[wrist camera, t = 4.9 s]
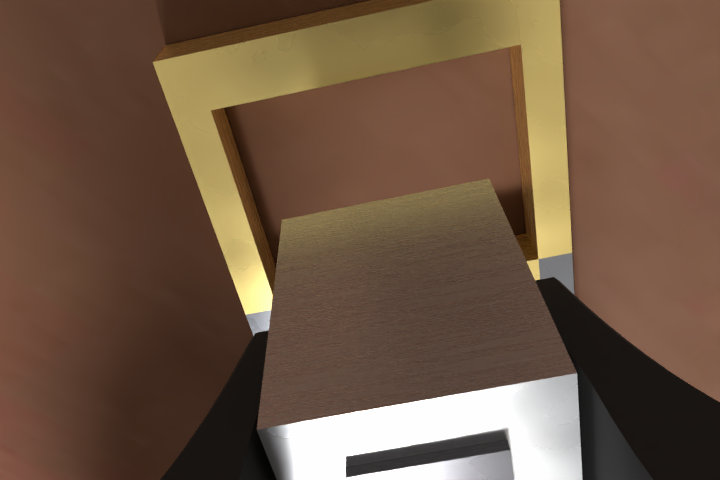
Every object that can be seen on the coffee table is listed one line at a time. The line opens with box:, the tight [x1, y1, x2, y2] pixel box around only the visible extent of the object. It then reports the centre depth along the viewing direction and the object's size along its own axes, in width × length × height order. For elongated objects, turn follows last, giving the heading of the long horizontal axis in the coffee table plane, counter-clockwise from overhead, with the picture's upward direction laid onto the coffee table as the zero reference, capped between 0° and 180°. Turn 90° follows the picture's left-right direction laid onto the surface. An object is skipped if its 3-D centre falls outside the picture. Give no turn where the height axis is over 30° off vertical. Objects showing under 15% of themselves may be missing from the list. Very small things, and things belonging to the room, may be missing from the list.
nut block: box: [257, 179, 583, 480], centre depth 13 cm, size 4×4×6 cm
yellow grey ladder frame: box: [153, 0, 574, 336], centre depth 24 cm, size 10×26×2 cm, turn 11°
